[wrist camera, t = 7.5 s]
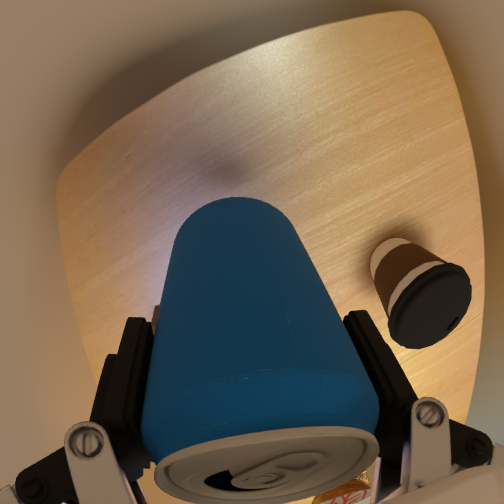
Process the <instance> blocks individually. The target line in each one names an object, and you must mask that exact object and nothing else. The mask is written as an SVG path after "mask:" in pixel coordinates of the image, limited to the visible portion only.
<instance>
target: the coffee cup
mask: <svg viewBox="0 0 504 504" xmlns="http://www.w3.org/2000/svg"><path fill="white" fill-rule="evenodd" d="M370 271H371V274H372V277H373V280H374V284H375V287H376V290H377V293H378V295H379V297H380V300H381V302H382V305H383V307H384V310H385V312H386V315H387V317H388V328H389V332H390V336H391V338H392V339H393V340H394V341H395V342H397V343H398V344H399V345H401V346H404V347H405V348H407V349H422V348H425V347H428V346H431V345H433V344H435V343H437V342H438V341H440V340H442V339H443V338H445V337H446V336H447V335H448V334H449V333H450V332H451V331H452V330H453V329H454V328H456V327H457V325H458V324H459V323H460V321H461V320H462V318H463V317H464V315H465V314H466V312H467V309H468V307H469V304H470V301H471V294H472V286H471V284H470V278H469V277H468V275H467V273H466V271H465V270H464V269H463V268H462V267H461V266H458V265H456V264H453V263H447V262H446V261H444V260H442V259H441V258H439V257H437V256H436V255H434V254H433V253H431V252H429V251H428V250H426V249H424V248H423V247H421V246H419V245H416V244H413V243H411V242H410V241H408V240H405V239H402V238H391V239H388V240H386V241H384V242H382V243H381V244H380V245H379V246H378V247H377V248H376V249H375V251H374V252H373V254H372V256H371V262H370Z"/></svg>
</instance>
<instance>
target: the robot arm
mask: <svg viewBox="0 0 504 504" xmlns="http://www.w3.org/2000/svg"><path fill="white" fill-rule="evenodd" d="M343 324H344V326H345V328H346V330H347V332H348V334H349V336H350V338H351V340H352V343H353V345H354V347H355V349H356V351H357V353H358V355H359V357H360V359H361V361H362V364H363V366H364V368H365V370H366V372H367V374H368V377H369V379H370V381H371V383H372V385H373V387H374V390H375V392H376V394H377V396H378V401H379V417H378V422H377V425H376V428H375V431H374V434H373V435H374V436H375V438H376V440H377V442H378V445H379V454H378V456H377V458H376V463H375V471H374V478H373V485H372V491H371V497H370V503H369V504H504V446H502V445H500V444H497V443H495V444H494V445H492V442H491V440H490V438H489V437H488V436H487V435H486V434H485V433H483V432H481V431H478V430H475V429H473V428H471V427H468V426H466V425H463V424H461V423H458V422H456V421H453V420H451V419H449V416H448V412H447V409H446V407H445V406H444V404H442V403H441V402H440V401H439V400H437V399H435V398H432V397H423V398H420V399H418V398H417V396H416V394H415V392H414V390H413V388H412V386H411V384H410V383H409V381H408V379H407V377H406V375H405V373H404V372H403V370H402V368H401V366H400V364H399V362H398V361H397V359H396V357H395V355H394V354H393V352H392V350H391V348H390V347H389V345H388V344H387V343H385V341H384V339H383V338H382V336H381V334H380V332H379V331H378V329H377V327H376V326H375V324H374V322H373V320H372V319H371V317H370V315H369V314H368V312H367V311H366V310H357V311H350V312H349V314H348V315H346V316H345V317H344V319H343ZM153 339H154V334H153V329H152V325H151V322H146V319H145V318H143V317H128V319H127V322H126V325H125V328H124V332H123V335H122V339H121V342H120V346H119V350H118V353H117V354H108V355H107V357H106V360H105V363H104V366H103V370H102V373H101V377H100V381H99V384H98V388H97V392H96V396H95V400H94V404H93V408H92V412H91V416H90V420H89V421H86V422H80V423H77V424H75V425H73V426H72V427H71V428H70V429H69V430H68V431H67V433H66V435H65V439H64V447H62V448H60V449H59V450H57V451H55V452H54V453H52V454H50V455H49V456H47V457H45V458H43V459H42V460H40V461H38V462H37V463H35V464H33V465H31V466H30V467H28V468H26V469H24V470H23V471H22V472H20V473H19V475H18V476H17V478H16V482H15V485H13V486H10V485H7V486H5V487H4V488H2V489H0V504H149V502H148V500H147V498H146V495H145V493H144V491H143V489H142V487H141V485H140V482H139V480H138V479H139V478H140V477H142V476H143V468H147V469H150V462H153V460H152V459H151V458H150V456H149V454H148V453H147V451H146V450H145V447H144V445H143V442H142V439H141V434H140V424H141V416H142V409H143V401H144V394H145V387H146V381H147V374H148V368H149V362H150V356H151V350H152V345H153Z"/></svg>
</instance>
